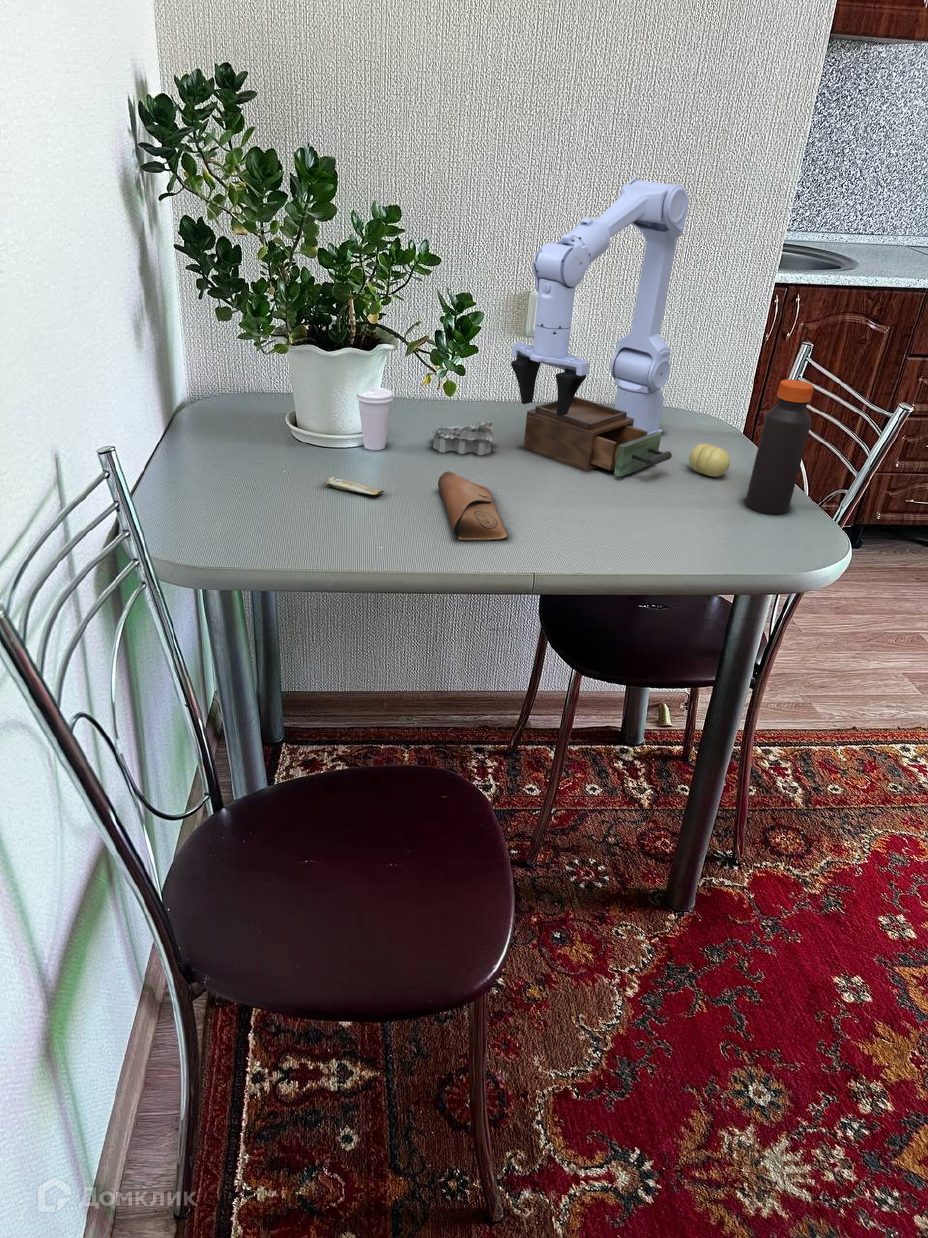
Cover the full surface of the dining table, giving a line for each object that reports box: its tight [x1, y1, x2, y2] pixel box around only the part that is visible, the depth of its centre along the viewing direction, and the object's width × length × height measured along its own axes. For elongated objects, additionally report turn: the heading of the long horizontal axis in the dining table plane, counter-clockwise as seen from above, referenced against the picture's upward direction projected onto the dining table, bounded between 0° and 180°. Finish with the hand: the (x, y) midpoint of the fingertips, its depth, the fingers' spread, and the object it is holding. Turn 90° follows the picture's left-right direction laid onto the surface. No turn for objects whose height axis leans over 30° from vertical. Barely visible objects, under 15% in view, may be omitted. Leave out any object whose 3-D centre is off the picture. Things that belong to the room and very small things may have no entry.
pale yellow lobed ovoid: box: [688, 443, 731, 478], centre depth 155 cm, size 5×7×5 cm
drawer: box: [591, 425, 673, 478], centre depth 155 cm, size 18×11×5 cm, turn 46°
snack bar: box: [322, 476, 385, 496], centre depth 140 cm, size 10×2×3 cm
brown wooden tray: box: [534, 395, 627, 430], centre depth 158 cm, size 11×12×1 cm
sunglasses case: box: [437, 470, 509, 542], centre depth 135 cm, size 18×7×7 cm, turn 9°
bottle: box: [745, 378, 815, 515], centre depth 140 cm, size 7×7×20 cm
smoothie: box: [356, 382, 394, 451], centre depth 155 cm, size 6×6×14 cm
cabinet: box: [523, 402, 634, 472], centre depth 160 cm, size 14×12×7 cm
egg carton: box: [432, 421, 494, 456], centre depth 160 cm, size 11×8×4 cm
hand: (544, 408), depth 150 cm, fingers open, 7 cm apart
